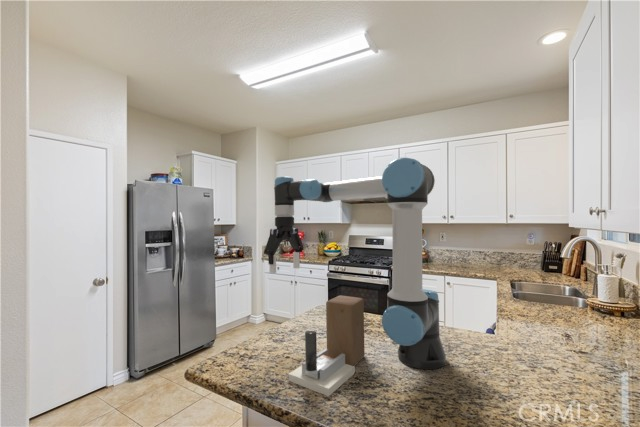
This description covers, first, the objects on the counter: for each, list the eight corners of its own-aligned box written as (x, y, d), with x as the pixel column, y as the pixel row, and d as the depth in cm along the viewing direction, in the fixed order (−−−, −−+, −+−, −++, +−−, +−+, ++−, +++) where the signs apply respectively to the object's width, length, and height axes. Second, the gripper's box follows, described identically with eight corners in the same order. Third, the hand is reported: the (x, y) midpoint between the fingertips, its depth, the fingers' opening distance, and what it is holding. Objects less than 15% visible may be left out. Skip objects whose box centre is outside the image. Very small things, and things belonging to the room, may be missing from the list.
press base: (354, 373, 90) (354, 356, 90) (328, 396, 78) (328, 377, 78) (317, 361, 98) (317, 346, 98) (288, 380, 86) (288, 363, 86)
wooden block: (353, 369, 93) (351, 304, 93) (325, 361, 98) (324, 300, 99) (365, 356, 101) (364, 297, 102) (340, 350, 106) (339, 294, 107)
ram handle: (334, 366, 90) (334, 325, 90) (314, 381, 81) (313, 336, 82) (322, 362, 92) (322, 322, 93) (301, 377, 84) (301, 333, 84)
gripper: (297, 216, 129) (298, 265, 128) (253, 216, 109) (254, 274, 108) (311, 216, 125) (312, 267, 124) (268, 215, 104) (269, 276, 104)
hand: (285, 270), depth 116 cm, fingers open, 13 cm apart
